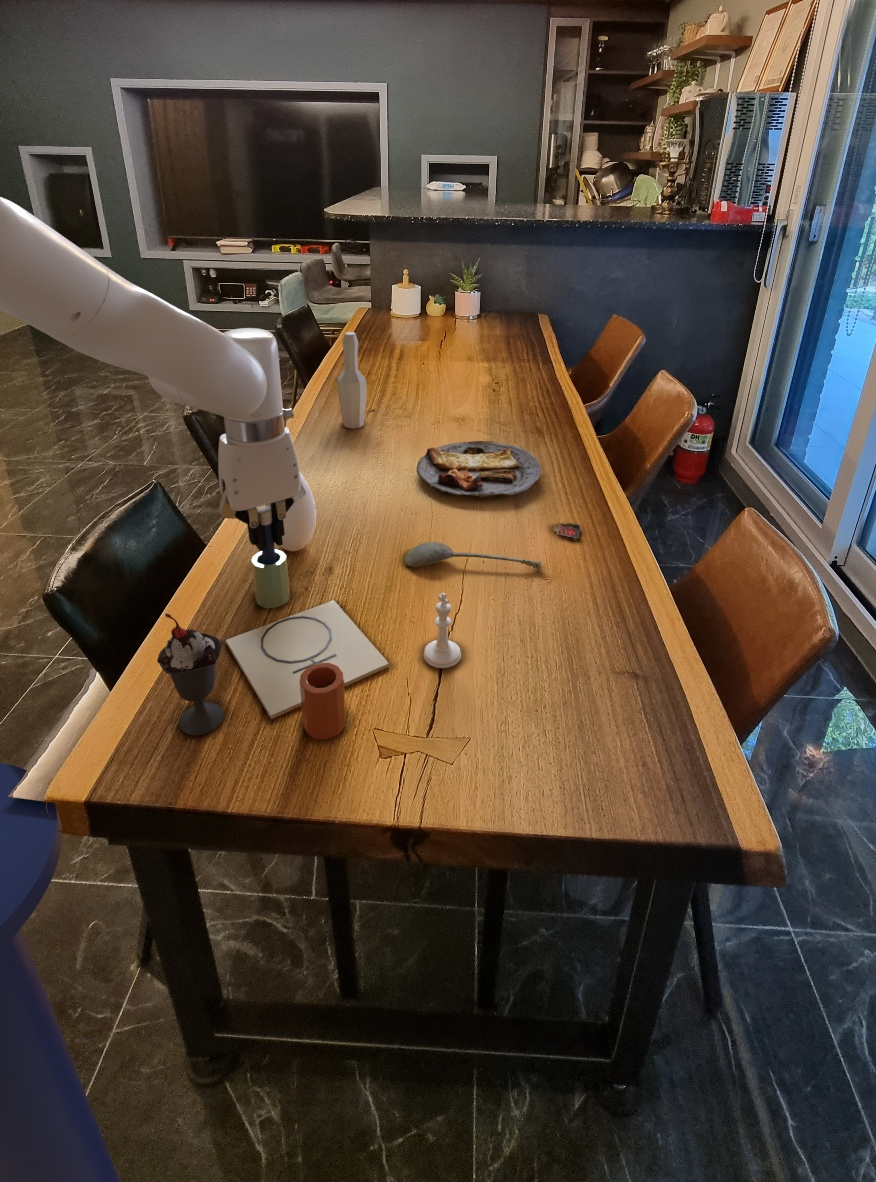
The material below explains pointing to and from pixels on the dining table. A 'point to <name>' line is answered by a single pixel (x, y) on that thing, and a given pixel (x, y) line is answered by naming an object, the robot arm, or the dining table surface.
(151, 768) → the dining table surface
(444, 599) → the chess piece
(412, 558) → the soupspoon
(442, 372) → the dining table surface
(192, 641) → the sundae
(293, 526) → the sauce bottle
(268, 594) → the pen cup
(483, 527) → the dining table surface
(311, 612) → the sketch pad
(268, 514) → the marker
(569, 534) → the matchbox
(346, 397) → the low poly bottle
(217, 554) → the dining table surface
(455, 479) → the food plate
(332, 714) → the pen pot
